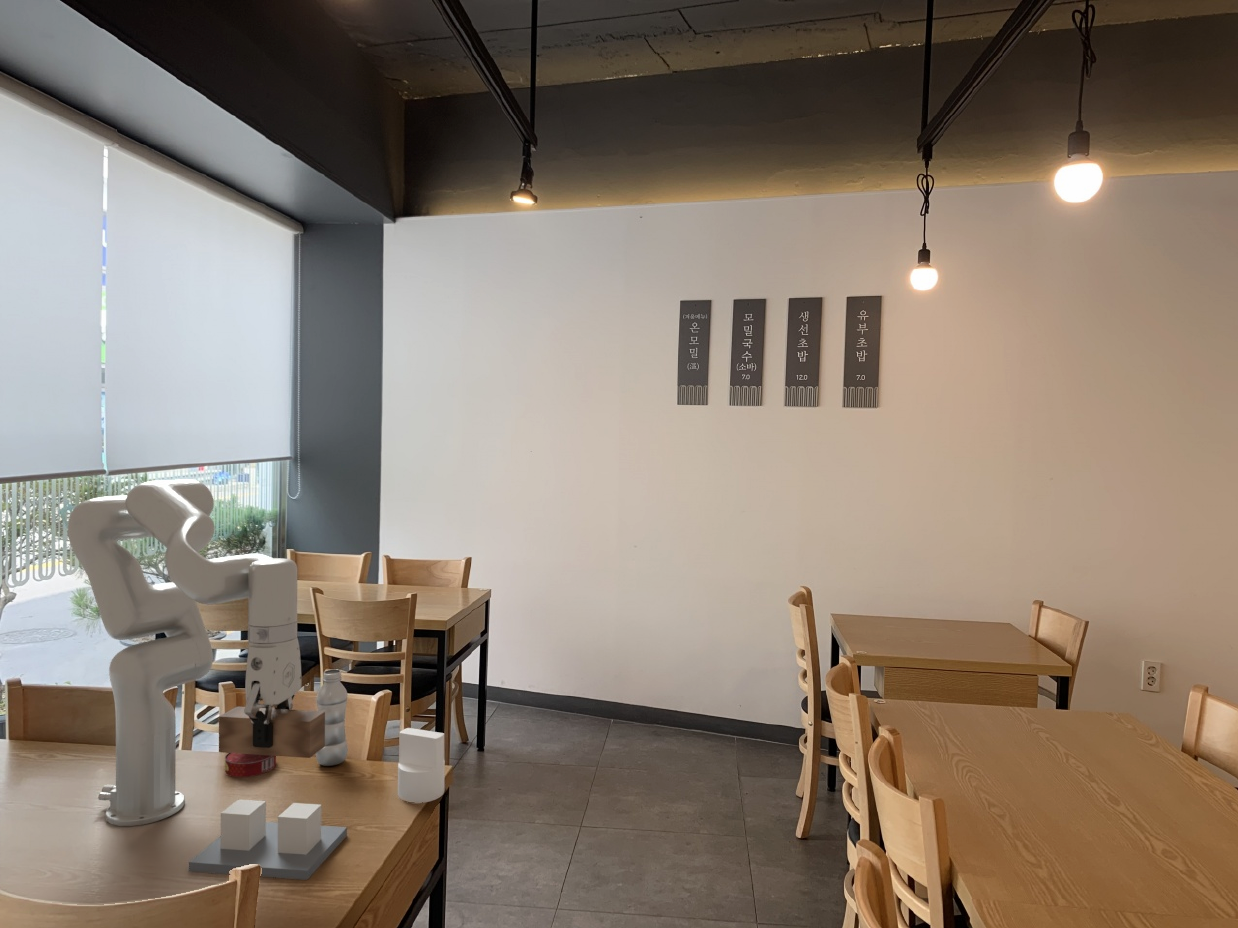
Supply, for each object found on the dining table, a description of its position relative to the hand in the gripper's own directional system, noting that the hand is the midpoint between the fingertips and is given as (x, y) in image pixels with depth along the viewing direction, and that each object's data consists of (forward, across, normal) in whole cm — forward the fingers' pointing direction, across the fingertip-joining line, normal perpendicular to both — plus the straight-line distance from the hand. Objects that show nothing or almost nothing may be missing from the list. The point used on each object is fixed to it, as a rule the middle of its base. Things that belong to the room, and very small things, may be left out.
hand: (272, 738), depth 129 cm
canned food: (+20, +32, +23) cm, 44 cm away
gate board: (+19, 0, 0) cm, 19 cm away
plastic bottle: (+20, +36, +7) cm, 42 cm away
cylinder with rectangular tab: (+20, +25, -17) cm, 36 cm away
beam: (+2, 0, 0) cm, 2 cm away
